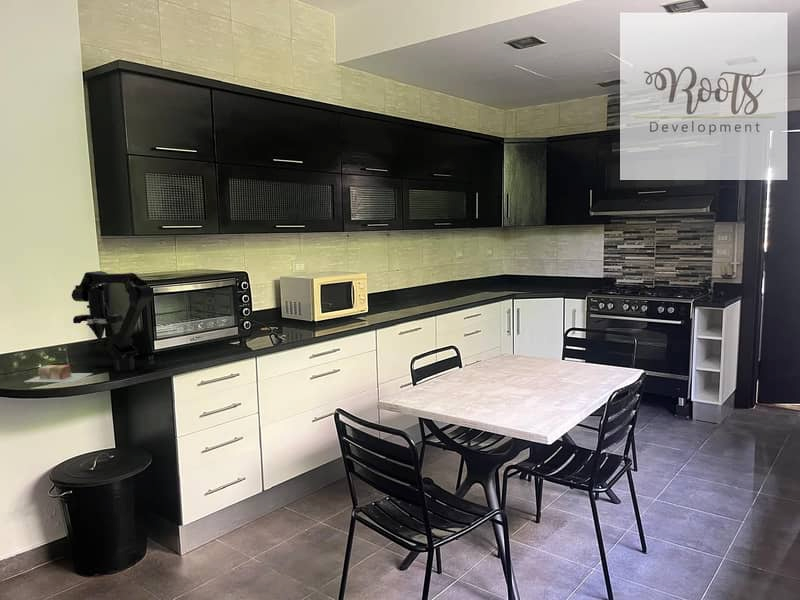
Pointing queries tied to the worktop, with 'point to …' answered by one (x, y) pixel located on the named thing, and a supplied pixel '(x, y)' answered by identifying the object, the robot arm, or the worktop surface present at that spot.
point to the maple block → (55, 372)
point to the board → (70, 379)
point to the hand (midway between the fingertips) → (100, 339)
